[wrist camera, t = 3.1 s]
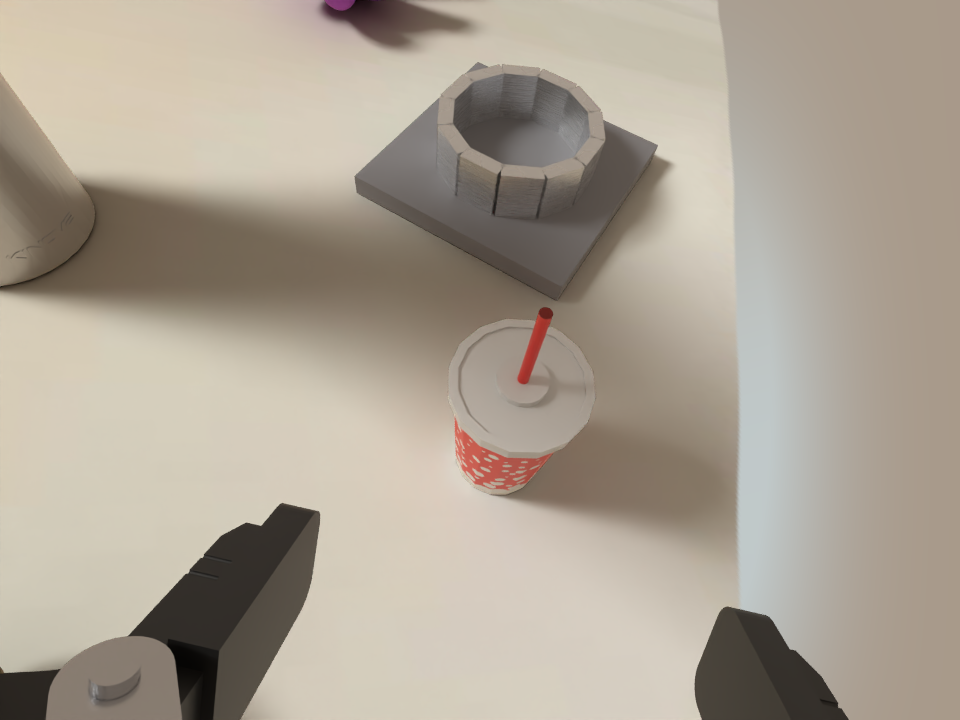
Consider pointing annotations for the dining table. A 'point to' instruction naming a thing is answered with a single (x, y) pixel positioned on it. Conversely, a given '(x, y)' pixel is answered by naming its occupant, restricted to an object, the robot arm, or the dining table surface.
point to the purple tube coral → (341, 4)
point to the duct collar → (522, 99)
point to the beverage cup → (516, 400)
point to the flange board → (495, 240)
